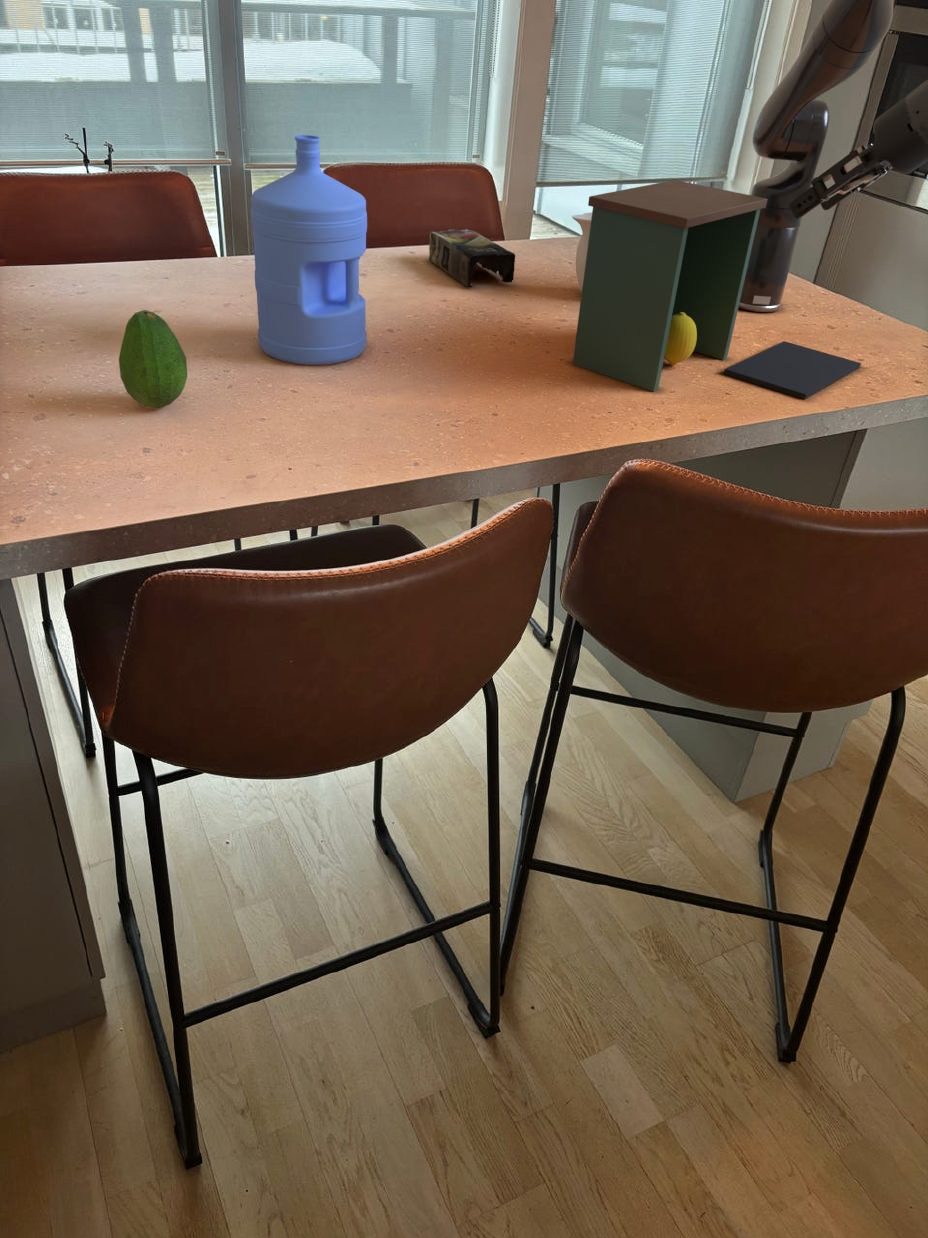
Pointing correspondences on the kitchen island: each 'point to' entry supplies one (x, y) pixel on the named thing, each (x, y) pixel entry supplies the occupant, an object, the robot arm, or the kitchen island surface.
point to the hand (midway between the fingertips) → (807, 207)
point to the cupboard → (661, 274)
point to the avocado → (152, 361)
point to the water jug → (309, 264)
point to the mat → (793, 369)
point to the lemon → (680, 339)
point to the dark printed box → (469, 255)
